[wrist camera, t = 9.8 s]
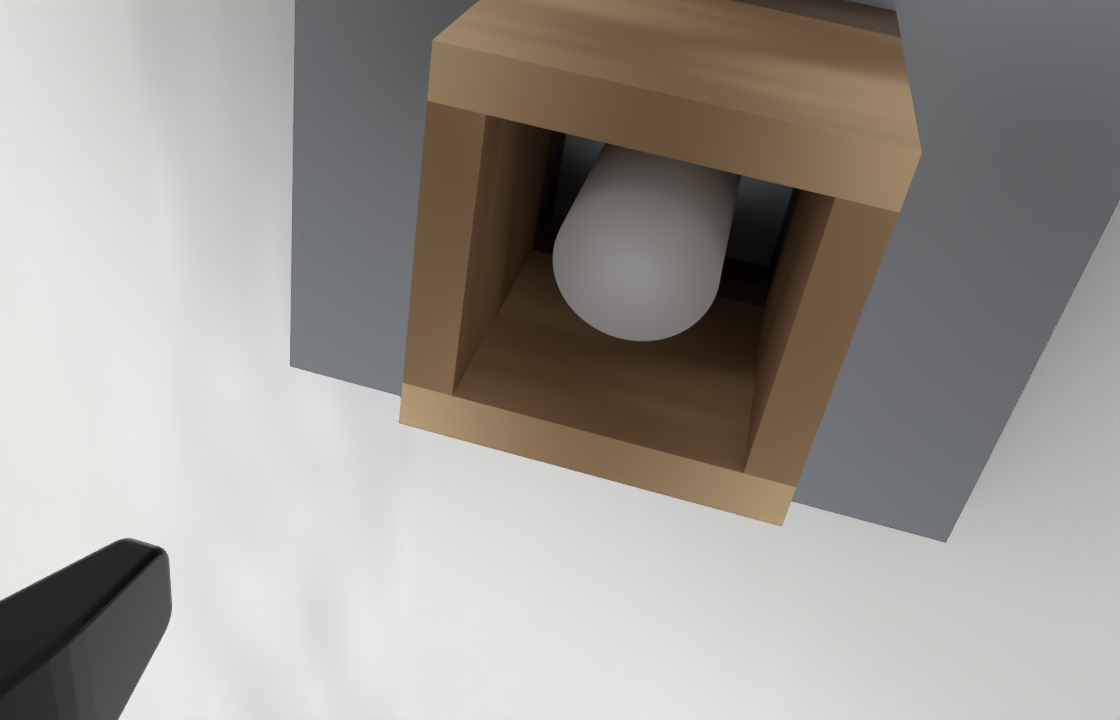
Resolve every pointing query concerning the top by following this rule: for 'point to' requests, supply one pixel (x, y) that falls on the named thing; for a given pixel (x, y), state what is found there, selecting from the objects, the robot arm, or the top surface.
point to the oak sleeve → (745, 288)
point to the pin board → (754, 230)
